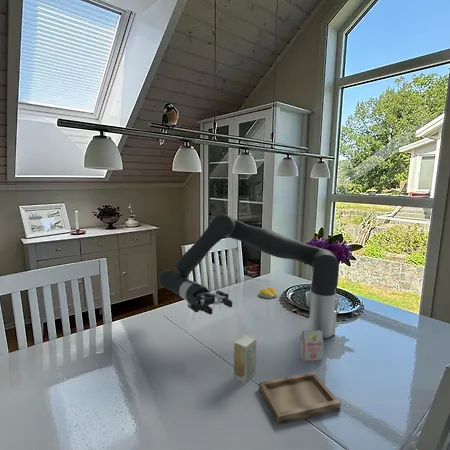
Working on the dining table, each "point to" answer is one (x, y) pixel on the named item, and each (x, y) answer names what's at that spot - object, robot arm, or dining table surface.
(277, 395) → the walnut tray
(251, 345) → the skincare box
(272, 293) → the bread roll
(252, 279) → the dining table surface
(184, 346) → the dining table surface
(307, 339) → the white boxy package
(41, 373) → the dining table surface
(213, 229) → the robot arm
